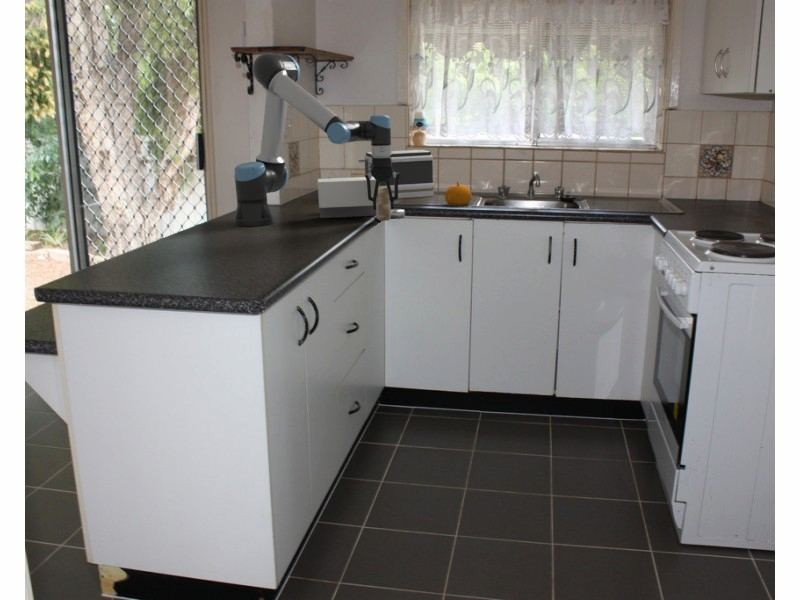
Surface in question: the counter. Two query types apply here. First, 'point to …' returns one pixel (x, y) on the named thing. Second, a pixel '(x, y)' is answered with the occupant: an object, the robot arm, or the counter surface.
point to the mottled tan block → (383, 204)
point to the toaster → (408, 173)
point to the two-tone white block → (345, 197)
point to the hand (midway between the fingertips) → (383, 218)
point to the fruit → (458, 195)
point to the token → (397, 213)
